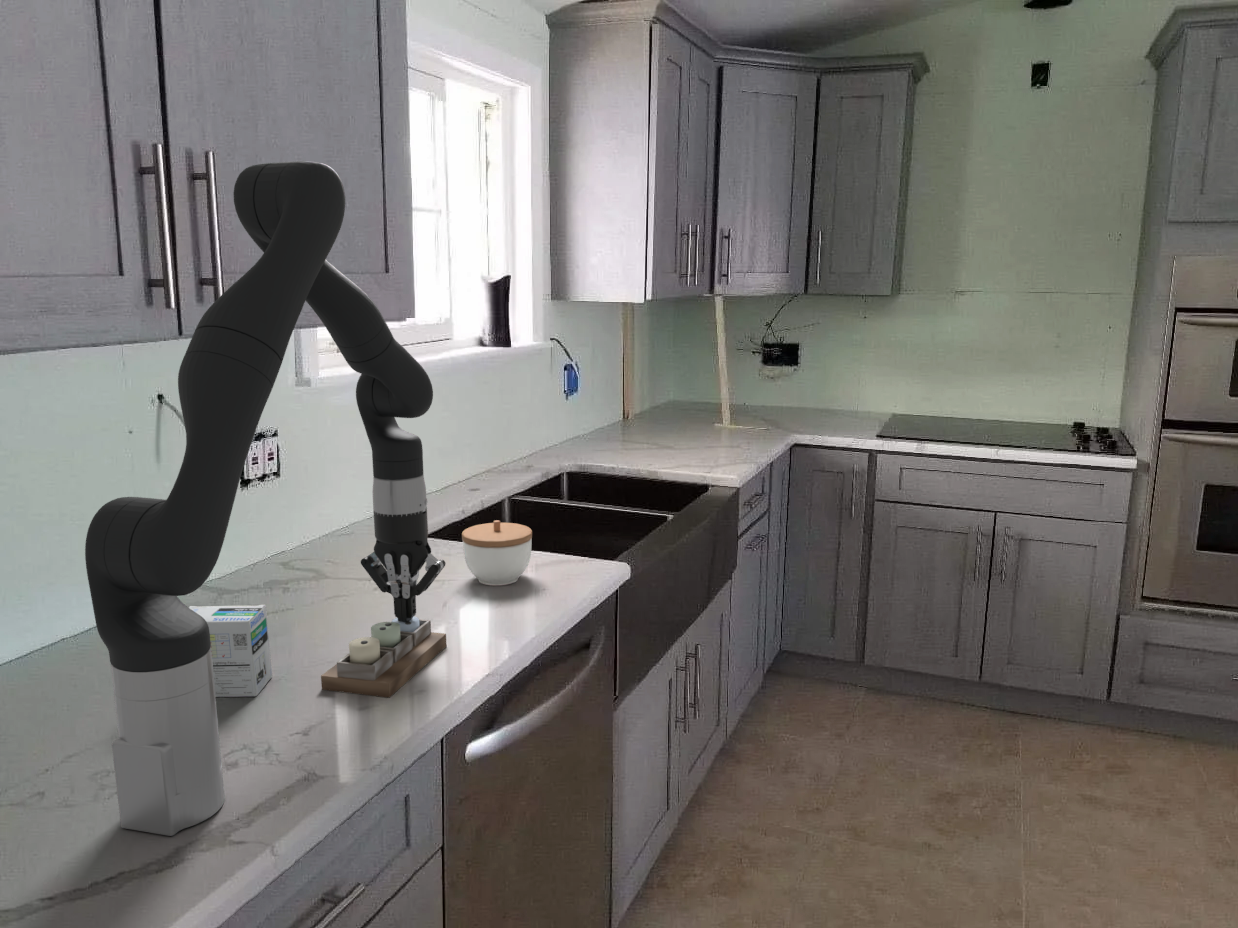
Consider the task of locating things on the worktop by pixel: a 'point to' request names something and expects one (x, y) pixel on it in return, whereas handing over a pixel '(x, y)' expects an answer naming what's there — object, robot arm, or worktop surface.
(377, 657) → the one-pip button
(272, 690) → the worktop surface
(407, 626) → the three-pip button
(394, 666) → the button panel
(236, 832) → the worktop surface
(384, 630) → the two-pip button
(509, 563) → the lidded bowl
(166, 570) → the robot arm
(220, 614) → the light bulb box
